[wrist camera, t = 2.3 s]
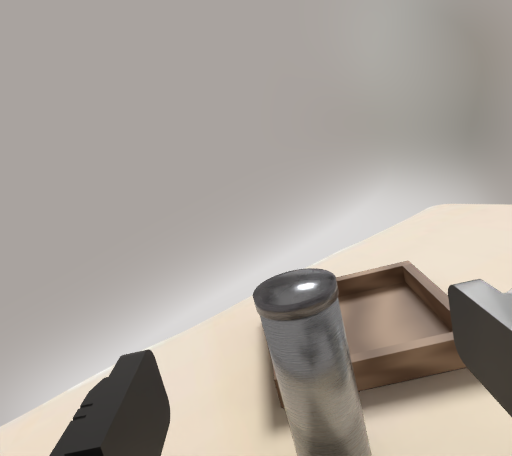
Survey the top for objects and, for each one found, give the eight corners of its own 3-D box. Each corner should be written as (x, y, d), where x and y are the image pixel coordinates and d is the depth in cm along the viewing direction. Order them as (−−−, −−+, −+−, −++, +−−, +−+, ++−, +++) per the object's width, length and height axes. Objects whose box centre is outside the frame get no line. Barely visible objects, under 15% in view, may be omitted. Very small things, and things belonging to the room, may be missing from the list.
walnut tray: (411, 281, 46) (408, 260, 46) (492, 361, 31) (488, 331, 30) (271, 313, 47) (266, 293, 47) (281, 407, 32) (274, 379, 31)
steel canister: (363, 427, 28) (327, 262, 25) (384, 486, 23) (344, 292, 20) (295, 442, 28) (252, 279, 25) (304, 503, 24) (252, 314, 21)
